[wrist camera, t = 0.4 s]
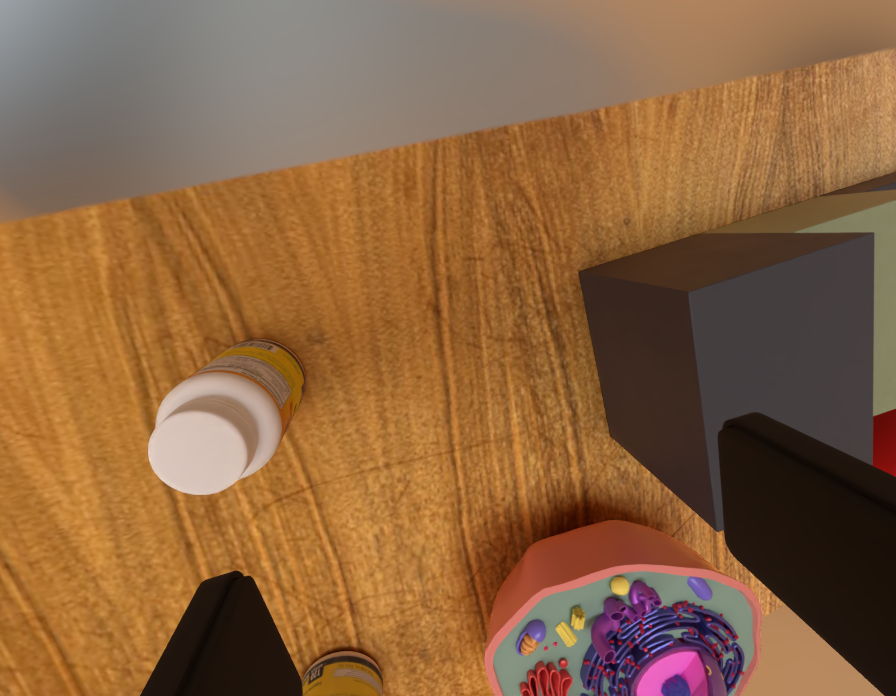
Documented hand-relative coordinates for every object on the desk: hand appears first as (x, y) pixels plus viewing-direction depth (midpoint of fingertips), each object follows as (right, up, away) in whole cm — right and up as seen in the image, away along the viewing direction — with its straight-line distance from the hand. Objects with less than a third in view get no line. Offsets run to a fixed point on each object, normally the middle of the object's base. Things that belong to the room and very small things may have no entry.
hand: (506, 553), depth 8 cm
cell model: (+10, -15, +27) cm, 33 cm away
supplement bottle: (-13, +2, +20) cm, 24 cm away
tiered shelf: (+22, +7, +23) cm, 33 cm away
